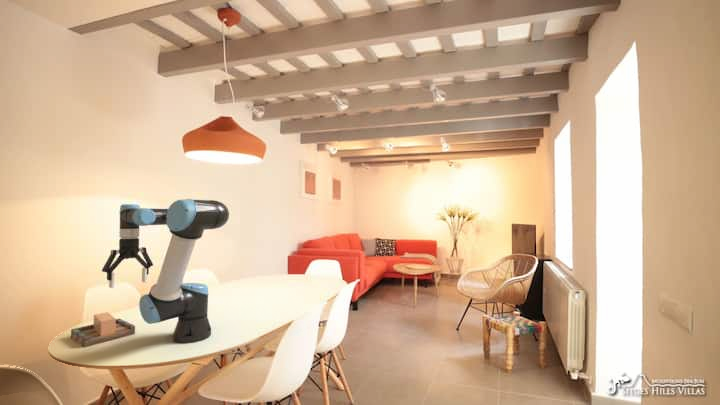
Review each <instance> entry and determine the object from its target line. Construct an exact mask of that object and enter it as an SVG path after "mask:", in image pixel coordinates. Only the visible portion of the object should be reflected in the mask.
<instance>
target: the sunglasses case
mask: <svg viewBox="0 0 720 405" xmlns="http://www.w3.org/2000/svg"><path fill="white" fill-rule="evenodd" d="M116 319H117V318H116V317H114V316H113V315H112V314H111V313H109V312H108V311H107V312H101V313H96V314H93V324H94V326H93V329H94V330H95V331H96V332H97V333H98V334H99V335H100V336H104V335H108V334H113V333H115V328H116Z"/></svg>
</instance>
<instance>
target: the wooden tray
mask: <svg viewBox="0 0 720 405" xmlns="http://www.w3.org/2000/svg"><path fill="white" fill-rule="evenodd" d="M115 319H116V328H115V333H113V334H108V335H104V336H100V335H99V334H98V333H97V332H96V331H95V330H94V329H93V326H94V323H92V324H90V325H85V326H81V327H77V328H76V327H75V328H71V330H70V331H71V332H70V339H72V340H73V341H75V342H76V343H78V344H79V345H80V346H82V347H83V348H88V347H92V346H94V345H99V344H103V343H105V342H110V341H114V340H117V339H121V338H122V339H123V338H125V337H130V336H133V335H135V333H136V325H134V324H132V323H130V322H128V321H126V320H123V319H121V318H115Z"/></svg>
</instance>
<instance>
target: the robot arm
mask: <svg viewBox="0 0 720 405" xmlns="http://www.w3.org/2000/svg"><path fill="white" fill-rule="evenodd" d="M229 217H230V211H229V209H228V207H227V205H225V204H224V203H223V202H220V201H219V200H215V199H214V200H213V199H211V200H209V199H192V198H184V199H177V200H175V201H174V202H172V203H171V204H170V205H169V207H168V208H146V207H143V208H142V207H141V208H140V205H139V204H135V203H133V204H132V203H130V204H129V203H128V204H121V205H120V208H119V239H118V240H119V243H118V246H119V248H118V249H111V250H110V255H109V256H108V258H107V260H106V262H105V264H104V266H103V267H102V269H101V272H102V273H106V280H107V281H108V288H110V289H114V288H115V272H113V271H115V269H116V268H117V267H118V266H119V265H120V264H121V263H122V261H124V260H129V259H135V260H136V261H137V262H138V263H139V264H140V265H141V266H142V268H141V283H147V279H148V275H149V270H150V268H151V267H153V266H154V264H153V261H152V259H151V258H150V256H149V254H148V252H147V247H145V246H143V247H140V238H139V237H140V226H141V227H143V226H144V227H146V226H161V225H163V226H164V225H166V226H167V228H168V229H169V230H168V231H169V232H170V234H171V238H170V241H169V245H168V246H167V247H168V248H167V250H166V253H165V256H164V259H163V262H162V266H161V269H160V271H159V272H160V273H159V275H158V278H157V281H156V283H154V284H153V285H152V286H151V287H150V289H149V292H148V294H144V295H142V296H141V297H140V298H139V312H140V315H141V317H142V320H144V322H145V323H147V324H149V325H152V324H153V325H154V324H159V323H161V322H165V321H168V320H172V319H176V318H177V323H176V326H175V327H174V328H175V329H174V331H173V333H172V334H173V335H172V339H173V342H177V343H180V344H181V343H183V344H187V343H189V344H190V343H195V342H200V341H203V340H205V339H208V338H209V337H211V335H212V327H211V324H210V321H209V318H208V310H209V304H208V303H209V286H208V285H206V284H205V283H198V282H184V283H183V279H184V277H185V274H186V271H187V268H188V266H189V263H190V260H191V257H192V253H193V250H194V248H195V244H196V242H197V240H199V239H201V238H202V236H203V234H204V231H205V230H216V229H219V228H222V227H223V226H225V224H226V223H227V222H228V221H229ZM139 252H140V253H141V255H142V257H143V258H144V259H143V258H142V257H141V256H140V254H139ZM118 254H119V255H118ZM117 255H118V256H117ZM116 256H117V258H116ZM115 259H116V260H115Z"/></svg>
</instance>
